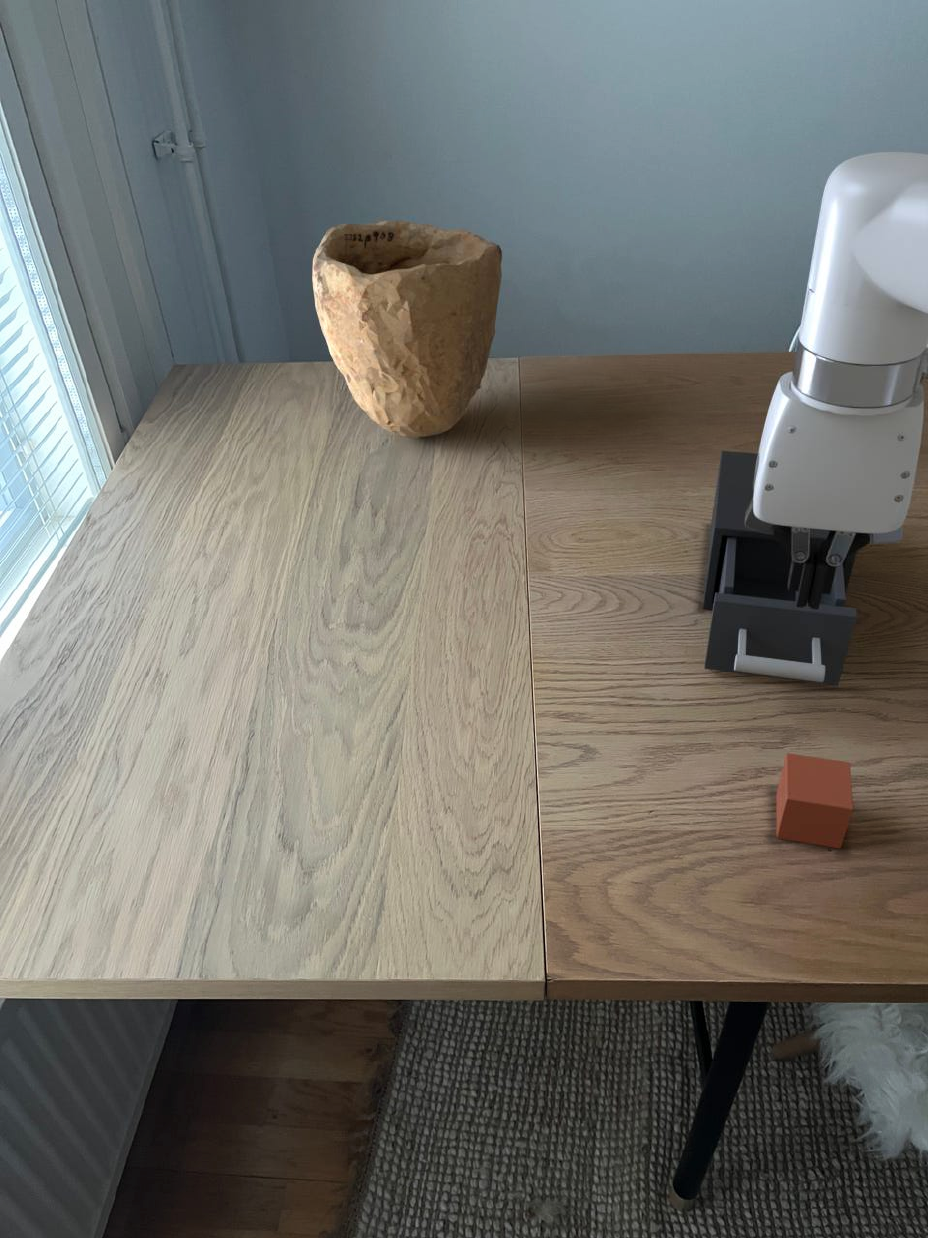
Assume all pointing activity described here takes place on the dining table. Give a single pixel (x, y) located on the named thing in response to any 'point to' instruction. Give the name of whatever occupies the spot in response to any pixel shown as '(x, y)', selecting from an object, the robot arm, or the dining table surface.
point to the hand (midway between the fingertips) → (806, 597)
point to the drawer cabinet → (740, 518)
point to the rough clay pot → (408, 318)
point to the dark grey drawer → (775, 619)
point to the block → (814, 800)
